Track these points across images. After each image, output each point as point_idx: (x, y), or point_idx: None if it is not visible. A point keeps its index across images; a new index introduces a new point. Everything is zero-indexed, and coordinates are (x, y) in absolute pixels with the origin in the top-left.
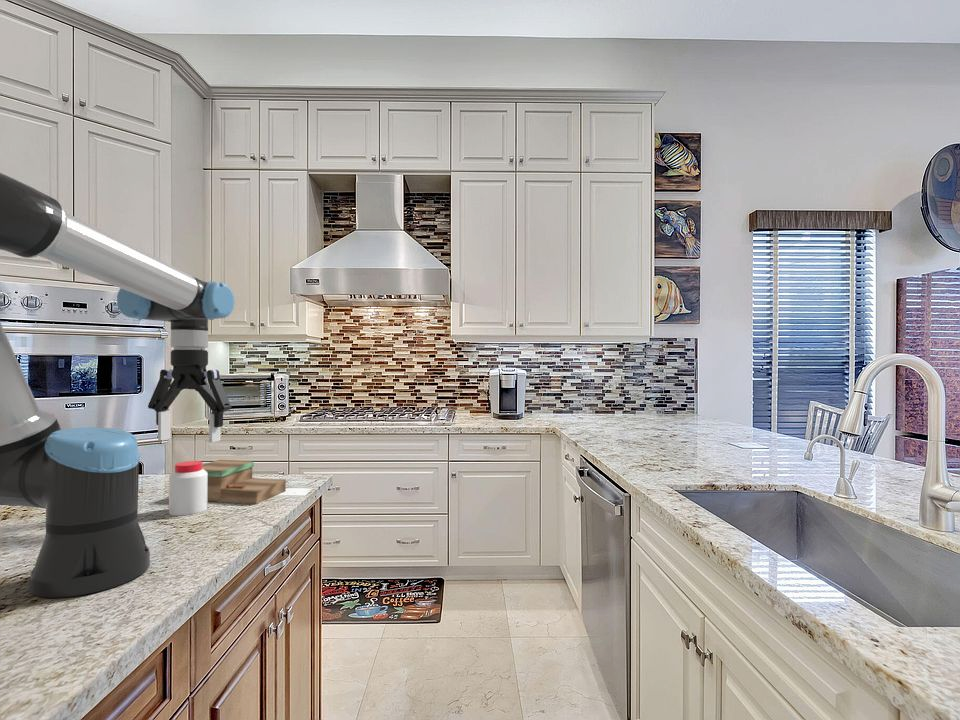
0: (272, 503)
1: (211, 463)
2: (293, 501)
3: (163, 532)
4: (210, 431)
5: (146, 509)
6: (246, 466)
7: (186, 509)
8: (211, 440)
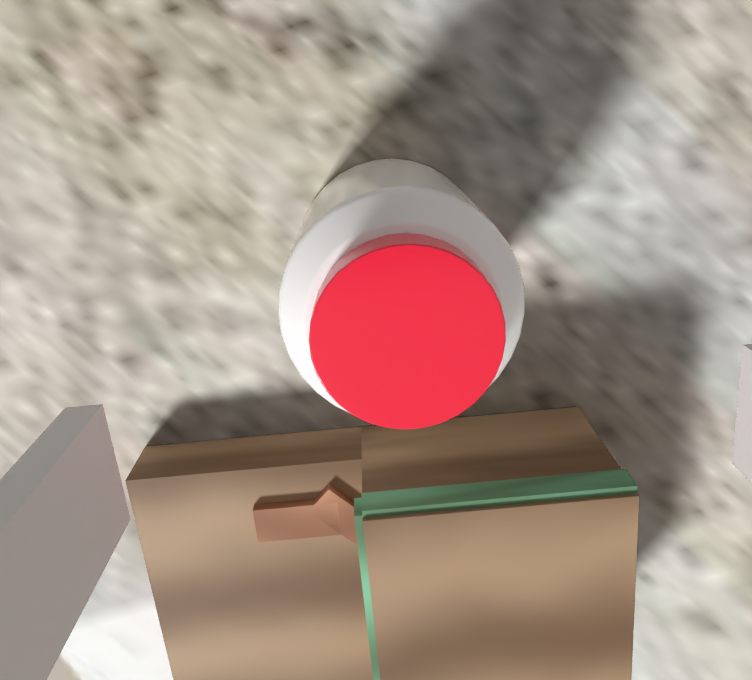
0: None
1: (599, 656)
2: None
3: None
4: (33, 469)
5: (632, 199)
6: None
7: (327, 187)
8: (62, 415)
